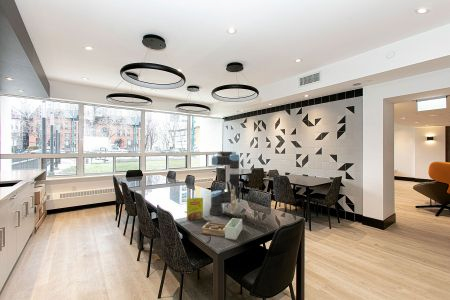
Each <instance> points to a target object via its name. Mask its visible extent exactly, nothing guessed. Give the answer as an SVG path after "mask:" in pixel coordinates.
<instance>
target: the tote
mask: <svg viewBox="0 0 450 300" xmlns="http://www.w3.org/2000/svg"><path fill="white" fill-rule="evenodd" d="M226 224H227V225H226V226H225V235H224V238H225V239H229V240H237V239H238V237H239V235H240V234H241V232H242V230H243V218H234V217H232V218H231V219H230V220H229V221H228V223H226Z"/></svg>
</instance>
